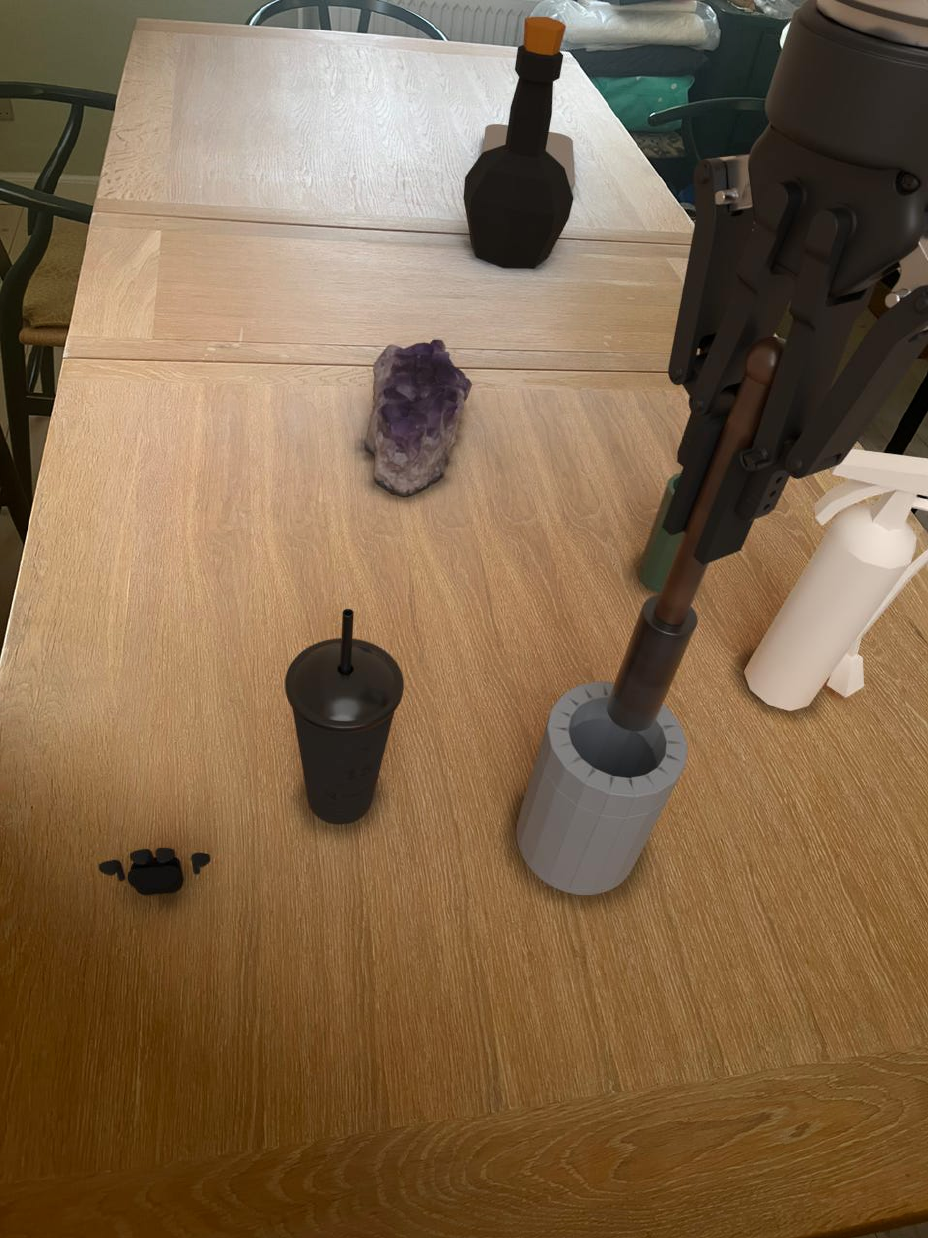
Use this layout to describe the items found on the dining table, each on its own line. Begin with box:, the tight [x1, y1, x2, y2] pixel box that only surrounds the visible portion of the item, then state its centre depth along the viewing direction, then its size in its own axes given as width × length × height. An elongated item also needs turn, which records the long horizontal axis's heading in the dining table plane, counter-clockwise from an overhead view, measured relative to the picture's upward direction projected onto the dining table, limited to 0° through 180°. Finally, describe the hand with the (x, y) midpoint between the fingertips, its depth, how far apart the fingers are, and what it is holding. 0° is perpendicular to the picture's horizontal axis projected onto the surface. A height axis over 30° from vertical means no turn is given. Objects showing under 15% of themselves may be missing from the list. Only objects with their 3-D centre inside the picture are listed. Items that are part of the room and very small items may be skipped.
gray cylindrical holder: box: [515, 680, 689, 896], centre depth 65 cm, size 9×9×13 cm
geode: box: [364, 338, 473, 498], centre depth 98 cm, size 20×12×10 cm, turn 178°
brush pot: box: [636, 472, 684, 595], centre depth 87 cm, size 5×5×11 cm
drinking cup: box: [284, 608, 405, 825], centre depth 62 cm, size 8×8×20 cm
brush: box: [607, 336, 787, 731], centre depth 49 cm, size 3×3×26 cm
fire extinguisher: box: [743, 448, 928, 712], centre depth 74 cm, size 7×12×25 cm, turn 79°
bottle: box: [462, 16, 575, 269], centre depth 128 cm, size 16×16×30 cm
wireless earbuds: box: [98, 847, 211, 896], centre depth 60 cm, size 7×2×5 cm, turn 100°
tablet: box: [481, 123, 576, 190], centre depth 162 cm, size 16×26×2 cm, turn 176°
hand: (701, 538), depth 48 cm, fingers closed on brush, 2 cm apart
